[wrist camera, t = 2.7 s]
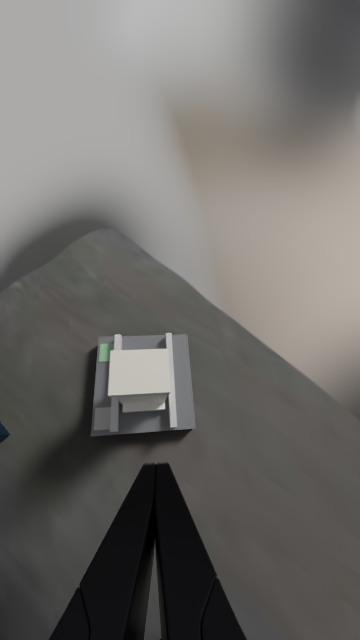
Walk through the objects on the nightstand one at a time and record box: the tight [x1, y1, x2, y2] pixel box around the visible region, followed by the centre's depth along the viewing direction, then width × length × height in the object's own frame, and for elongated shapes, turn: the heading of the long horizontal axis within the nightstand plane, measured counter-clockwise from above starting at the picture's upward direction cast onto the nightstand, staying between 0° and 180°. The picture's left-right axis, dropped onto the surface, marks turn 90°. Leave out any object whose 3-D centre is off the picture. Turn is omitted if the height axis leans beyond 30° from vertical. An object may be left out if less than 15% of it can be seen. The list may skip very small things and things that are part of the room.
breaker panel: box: [91, 333, 196, 436], centre depth 20 cm, size 8×8×2 cm
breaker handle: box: [108, 349, 170, 413], centre depth 16 cm, size 3×3×7 cm
